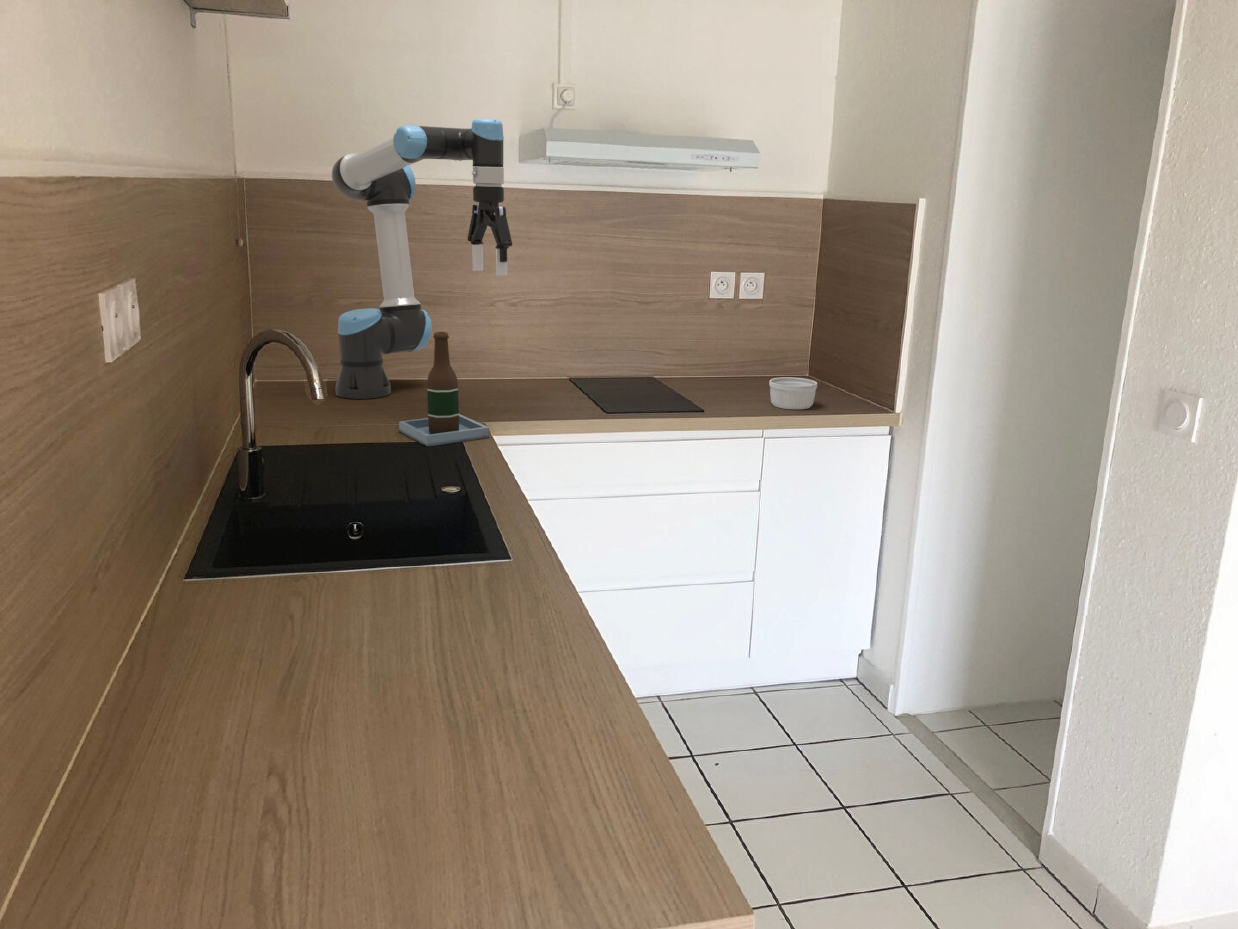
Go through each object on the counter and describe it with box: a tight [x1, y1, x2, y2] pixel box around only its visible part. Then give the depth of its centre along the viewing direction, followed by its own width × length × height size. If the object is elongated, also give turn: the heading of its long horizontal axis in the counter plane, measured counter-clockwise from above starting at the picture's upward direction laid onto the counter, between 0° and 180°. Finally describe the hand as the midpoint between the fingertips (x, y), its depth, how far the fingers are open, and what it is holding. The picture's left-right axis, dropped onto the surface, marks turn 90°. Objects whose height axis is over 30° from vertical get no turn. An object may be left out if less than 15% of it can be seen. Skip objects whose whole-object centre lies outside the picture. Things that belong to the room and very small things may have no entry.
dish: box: [398, 413, 490, 448], centre depth 235 cm, size 16×16×2 cm
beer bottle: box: [426, 331, 460, 434], centre depth 231 cm, size 8×8×24 cm
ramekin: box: [768, 376, 818, 411], centre depth 273 cm, size 13×13×7 cm
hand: (489, 273), depth 247 cm, fingers open, 13 cm apart
